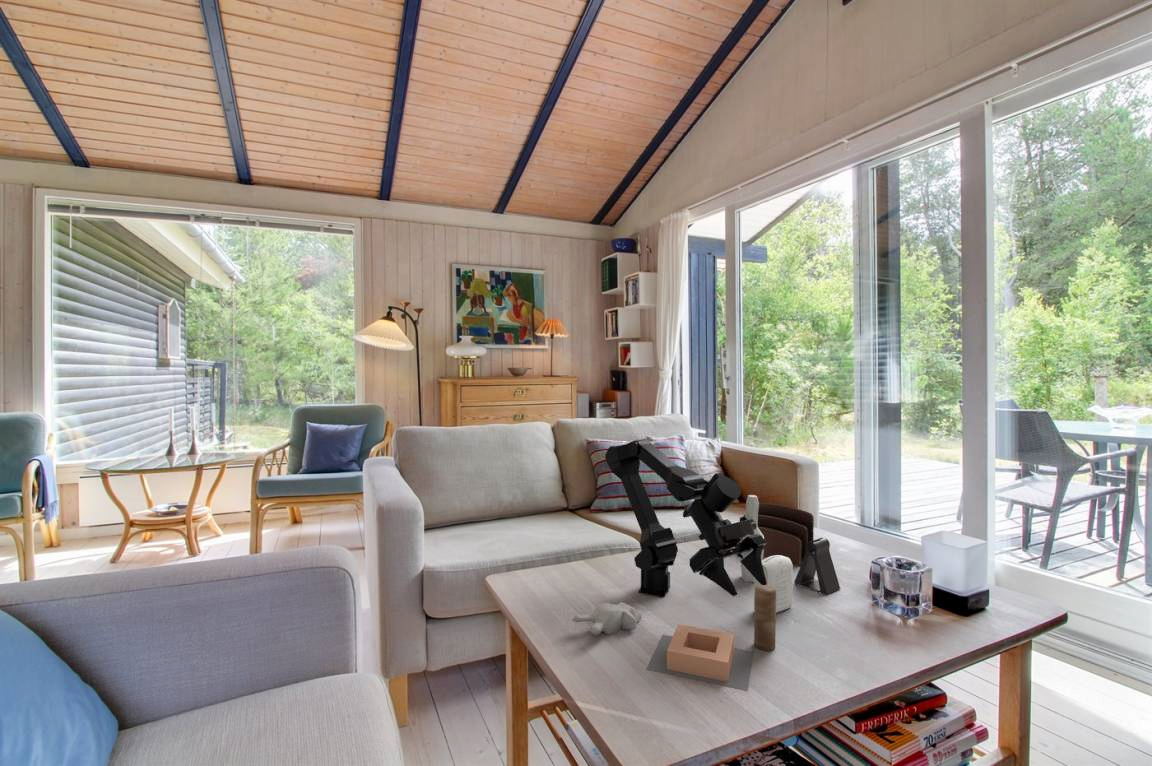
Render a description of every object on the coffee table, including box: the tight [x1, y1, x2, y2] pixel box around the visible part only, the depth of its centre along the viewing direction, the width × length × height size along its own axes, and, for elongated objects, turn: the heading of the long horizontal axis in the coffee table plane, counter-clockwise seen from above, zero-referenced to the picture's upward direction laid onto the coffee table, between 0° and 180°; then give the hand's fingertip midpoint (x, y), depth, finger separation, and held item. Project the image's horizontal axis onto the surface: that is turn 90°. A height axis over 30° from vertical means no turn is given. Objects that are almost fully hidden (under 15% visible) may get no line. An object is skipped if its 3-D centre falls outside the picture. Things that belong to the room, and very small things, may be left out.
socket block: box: [667, 624, 735, 682], centre depth 106 cm, size 11×11×4 cm
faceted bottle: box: [739, 494, 764, 583], centre depth 146 cm, size 6×6×22 cm
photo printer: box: [753, 555, 794, 614], centre depth 128 cm, size 10×4×12 cm, turn 123°
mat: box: [646, 634, 754, 692], centre depth 106 cm, size 18×14×1 cm
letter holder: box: [737, 501, 815, 567], centre depth 165 cm, size 10×20×14 cm, turn 47°
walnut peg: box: [753, 585, 777, 652], centre depth 111 cm, size 4×4×12 cm
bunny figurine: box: [572, 601, 643, 635], centre depth 119 cm, size 10×5×15 cm
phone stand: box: [793, 537, 841, 596], centre depth 142 cm, size 9×6×12 cm, turn 35°
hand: (750, 590), depth 114 cm, fingers open, 9 cm apart
